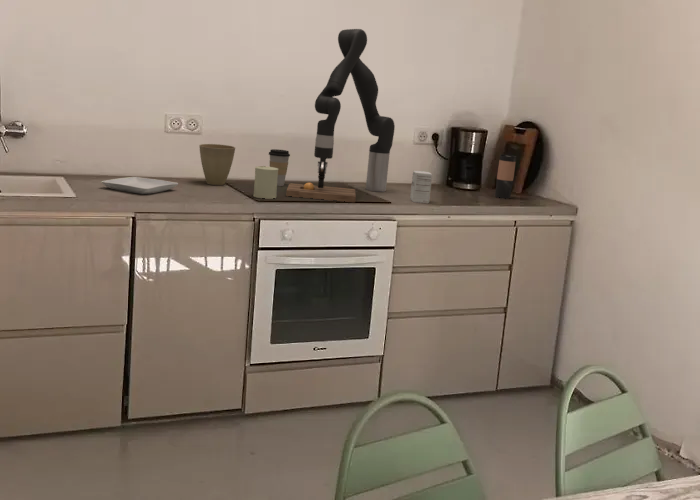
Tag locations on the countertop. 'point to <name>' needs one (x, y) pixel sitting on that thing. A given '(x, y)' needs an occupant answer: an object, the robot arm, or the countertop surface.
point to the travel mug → (505, 176)
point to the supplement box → (421, 186)
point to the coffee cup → (279, 163)
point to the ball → (309, 186)
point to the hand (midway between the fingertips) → (320, 187)
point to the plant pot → (216, 162)
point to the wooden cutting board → (322, 193)
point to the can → (265, 182)
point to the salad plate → (139, 185)
